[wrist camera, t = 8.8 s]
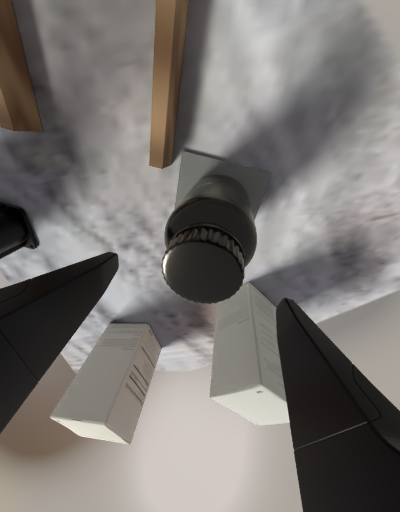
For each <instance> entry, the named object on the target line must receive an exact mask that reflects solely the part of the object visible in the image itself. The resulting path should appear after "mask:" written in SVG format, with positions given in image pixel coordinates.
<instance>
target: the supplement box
mask: <svg viewBox="0 0 400 512" xmlns="http://www.w3.org/2000/svg"><path fill="white" fill-rule="evenodd" d="M160 352H161V347H160V345H159V343H158V341H157V339H156V337H155V335H154V333H153V331H152V329H151V328H150V326H149V324H127V323H110V324H109V325H108V327H107V328H106V330H105V331H104V333H103V334H102V336H101V337H100V339H99V341H98V342H97V344H96V345H95V347H94V348H93V350H92V351H91V353H90V355H89V356H88V358H87V359H86V361H85V362H84V364H83V365H82V367H81V369H80V370H79V372H78V373H77V375H76V377H75V378H74V380H73V381H72V383H71V384H70V386H69V388H68V389H67V391H66V392H65V393H64V395H63V397H62V398H61V400H60V402H59V403H58V404H57V406H56V408H55V409H54V411H53V412H52V414H51V415H50V418H51V419H53V420H55V421H57V422H59V423H61V424H62V425H64V426H66V427H67V428H69V429H70V430H72V431H73V432H74V433H76V434H77V435H79V436H82V437H89V438H95V439H101V440H107V441H113V442H118V443H124V444H129V445H130V444H131V441H132V438H133V434H134V431H135V428H136V425H137V422H138V419H139V416H140V413H141V410H142V407H143V404H144V401H145V398H146V394H147V391H148V388H149V385H150V382H151V379H152V376H153V373H154V370H155V367H156V364H157V361H158V358H159V355H160Z"/></svg>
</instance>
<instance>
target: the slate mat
mask: <svg viewBox="0 0 400 512" xmlns="http://www.w3.org/2000/svg"><path fill="white" fill-rule="evenodd" d="M211 175H226V176H229V177H232V178H234V179H235V180H237V181H238V182H239V183H240V184H241V185H242V186H243V187H244V189H245V190H246V192H247V194H248V197H249V201H250V205H251V209H252V214H253V218H254V217H255V215H256V212H257V210H258V207H259V205H260V202H261V200H262V197H263V195H264V192H265V190H266V188H267V185H268V183H269V180H270V178H271V175H272V173H268V172H264V171H260V170H256V169H252V168H249V167H245V166H241V165H237V164H233V163H229V162H225V161H221V160H217V159H213V158H210V157H206V156H202V155H198V154H194V153H190V152H186V151H182V158H181V165H180V173H179V180H178V188H177V196H176V203H175V208H176V207H177V206H178V205H179V203H180V202H181V201H182V200H183V199H184V197H185V196H186V195H187V194H188V192H189V191H190V190H191V189H192V187H193V186H194V185H195V184H196V183H197V182H199V181H200V180H201V179H203V178H205V177H208V176H211Z"/></svg>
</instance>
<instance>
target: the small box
mask: <svg viewBox="0 0 400 512" xmlns="http://www.w3.org/2000/svg"><path fill="white" fill-rule="evenodd" d="M210 398H211V399H213V400H215V401H217V402H218V403H220V404H222V405H223V406H225V407H227V408H228V409H230V410H232V411H234V412H235V413H237V414H239V415H241V416H243V417H244V418H246V419H247V420H249V421H251V422H253V423H254V424H256V425H268V424H280V423H290V421H289V415H288V408H287V402H286V395H285V389H284V382H283V376H282V369H281V363H280V356H279V349H278V343H277V330H276V307H275V306H274V305H273V304H272V303H271V302H270V301H269V300H268V299H267V298H266V297H265V296H264V295H263V294H261V293H260V292H259V291H258V290H257V289H256V288H255V287H254V286H253V285H252V284H251V283H250V282H248V283H247V284H245V285H243V286H241V287H240V289H239V290H238V291H237V292H236V294H235V295H233V296H231V298H230V299H226V300H225V301H220V302H218V303H217V309H216V322H215V334H214V347H213V361H212V374H211V387H210Z"/></svg>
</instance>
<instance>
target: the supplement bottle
mask: <svg viewBox="0 0 400 512" xmlns="http://www.w3.org/2000/svg"><path fill="white" fill-rule="evenodd" d="M164 237H165V245H166V249H167V250H166V252H165V255H164V257H163V259H162V261H163V263H162V265H161V266H162V273H163V275H164V279H165V280H166V282H167V284H168V285H169V286H170V288H171V289H172V290H174V291H175V292H176V294H179V295H180V296H181V297H183V298H186V299H188V300H190V301H194V302H199V303H208V304H211V303H218V302H220V301H225V300H226V299H230V298H231V296H233V295H235V294H236V292H237V291H238V290H239V289H240V286H241V285H242V284H243V279H244V268H245V267H246V266H247V265H248V264H249V262H250V261H251V259H252V258H253V255H254V253H255V250H256V246H257V233H256V227H255V223H254V218H253V214H252V209H251V205H250V201H249V197H248V194H247V192H246V190H245V189H244V187H243V186H242V185H241V184H240V183H239V182H238V181H237V180H235V179H234V178H232V177H229V176H226V175H211V176H208V177H205V178H203V179H201V180H200V181H199V182H197V183H196V184H195V185H194V186H193V187H192V189H191V190H190V191H189V192H188V194H187V195H186V196H185V197H184V199H183V200H182V201H181V202H180V203H179V205H178V206H177V207H176V208H175V210H174V211H173V212H172V214H171V216H170V217H169V219H168V221H167V224H166V227H165V234H164Z"/></svg>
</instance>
